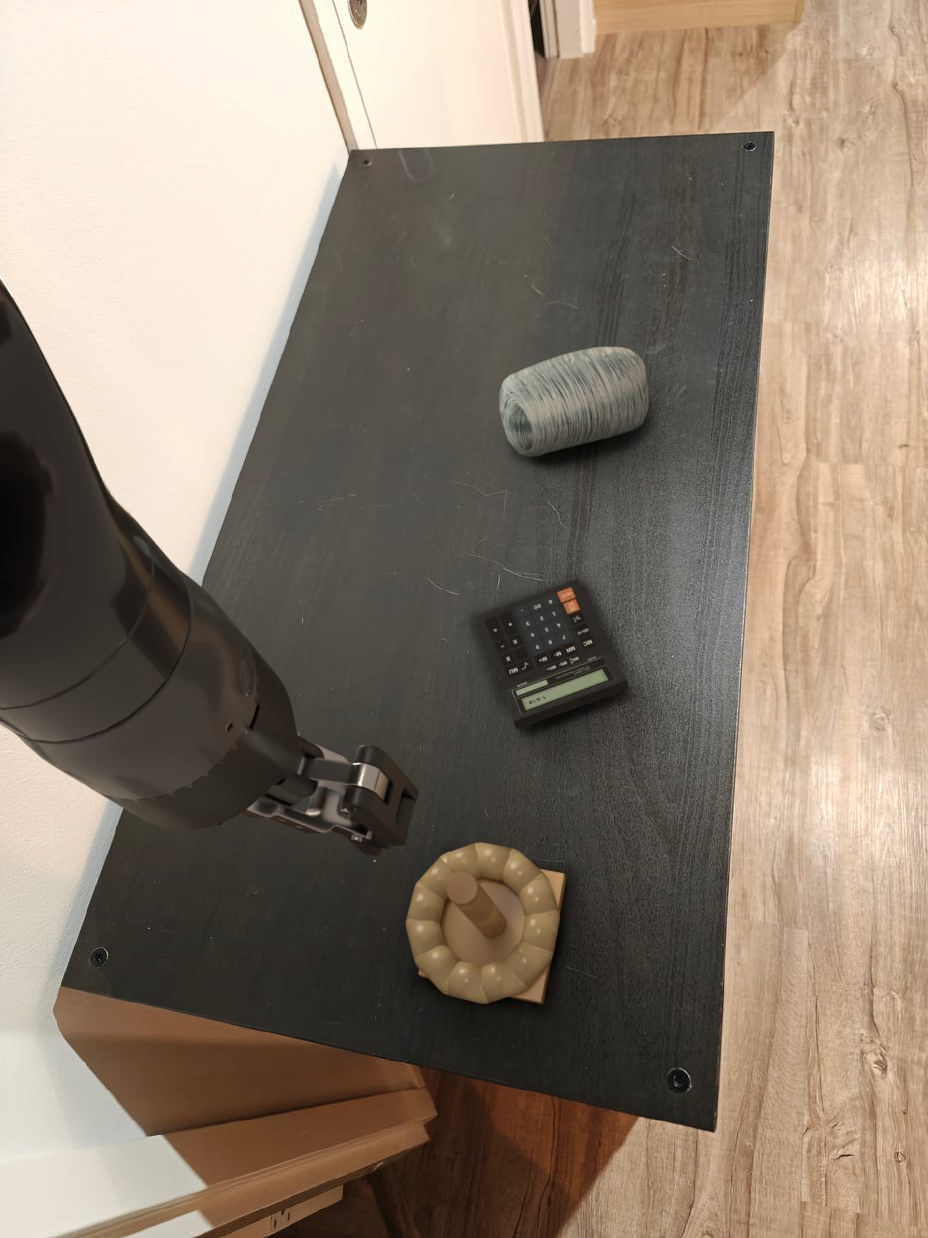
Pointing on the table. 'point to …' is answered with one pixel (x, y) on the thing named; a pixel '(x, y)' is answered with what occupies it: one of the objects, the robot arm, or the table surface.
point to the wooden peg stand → (490, 923)
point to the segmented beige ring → (526, 955)
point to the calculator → (549, 654)
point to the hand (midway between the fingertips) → (299, 820)
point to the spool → (574, 400)
